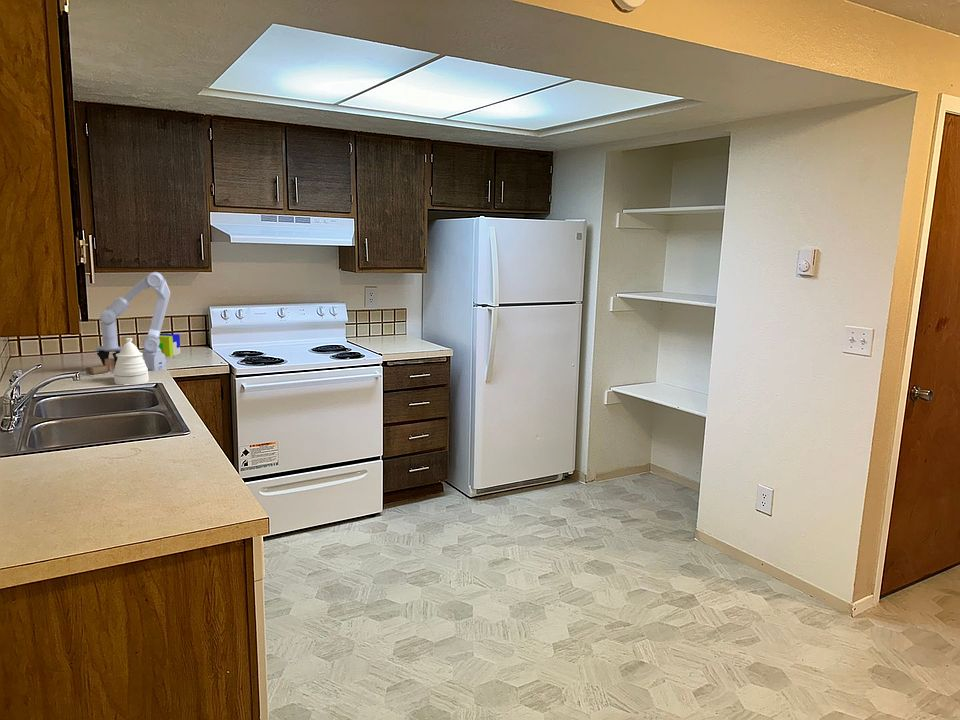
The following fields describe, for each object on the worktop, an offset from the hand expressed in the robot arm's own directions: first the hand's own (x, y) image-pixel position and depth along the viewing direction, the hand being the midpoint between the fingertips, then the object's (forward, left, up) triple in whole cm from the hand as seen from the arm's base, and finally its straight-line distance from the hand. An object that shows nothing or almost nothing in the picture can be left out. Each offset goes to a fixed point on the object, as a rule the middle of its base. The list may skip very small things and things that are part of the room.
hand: (112, 367), depth 298 cm
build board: (-1, +4, -2) cm, 5 cm away
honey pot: (-24, +6, -2) cm, 25 cm away
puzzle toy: (+22, -41, -2) cm, 47 cm away
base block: (-2, +8, -1) cm, 8 cm away
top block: (0, 0, -1) cm, 1 cm away
